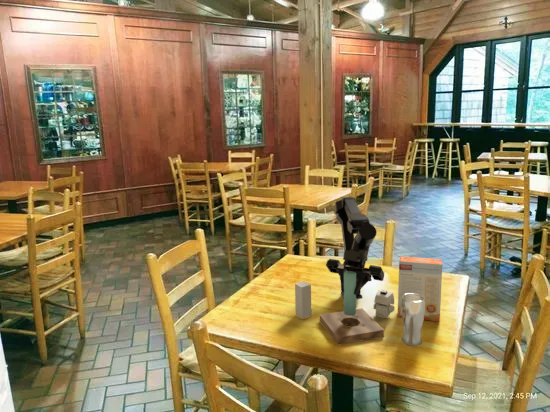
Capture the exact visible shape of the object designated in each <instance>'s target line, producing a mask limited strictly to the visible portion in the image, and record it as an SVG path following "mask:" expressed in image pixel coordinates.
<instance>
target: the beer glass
mask: <svg viewBox="0 0 550 412" xmlns="http://www.w3.org/2000/svg"><path fill="white" fill-rule="evenodd" d="M401 315H402V317H401V320H402V327H403V328H402V329H403V331H402V337H401V342H402V343H403V344H404V345H405V346H407V347H408V346H409V347H418V346H421V345H422V344H423V339H422V328H423V324H424V321H425V320H424V315H425V298H424V296H422V295H420V294H417V293H406V294H404V295H403V296H402V305H401Z"/></svg>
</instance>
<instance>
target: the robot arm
mask: <svg viewBox="0 0 550 412" xmlns="http://www.w3.org/2000/svg"><path fill="white" fill-rule="evenodd" d="M333 212H334V214H335V217H336V220H337V221H338V223H339V224H340V227H341V232H342V233H341V234H342V242H343V250H344V251H343V258H342V260H343V262H342V263H341V261H340V260H339V259H333V258H329V259H328V260H326V263H325V266H326V268H327V269H328V271H329V272H330V273H332V274H338V276H339V279H340V290H341V291H340V294H341V295H342V296H343V297H344V272H346V271H353V272H356V287H355V291H354V294H355V295H356V299H360V298H363V295H362V294H361V289H362V288H363V287H364V286H365V285H366V284H367V283H368V282H372V279H373V281H374V280H375V281H380V282H383V281H384V278H385V272H384V270H383V268H382V267H381V266H379V265H372V264H370V265H369V266H368V268H367V267H366V263H367V261H368V259H369V257H368V255H369V251H370V247H371V245H372V243H373V241H374V240H375V238H376V236H377V232H378V231H377V229H376V227H375V225H374V224H373V223H372V221H371V220H370V219H369V218H368V216H367V215H366V214H364V213H361V211H360V209H359V207H358V204H357V201H356V197H353V196H347V197H345V196H344V197H342V198H341V199H339V200H337V201H336V202H335V203H334V204H333Z"/></svg>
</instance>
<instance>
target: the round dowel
mask: <svg viewBox="0 0 550 412" xmlns="http://www.w3.org/2000/svg"><path fill="white" fill-rule="evenodd" d="M355 287H356V272H353V271H346V272H344V296H343V311H344V314H345V315H348V316H353V315H355V314H356V309H357V298H356V295H355V294H354V291H355Z"/></svg>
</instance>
